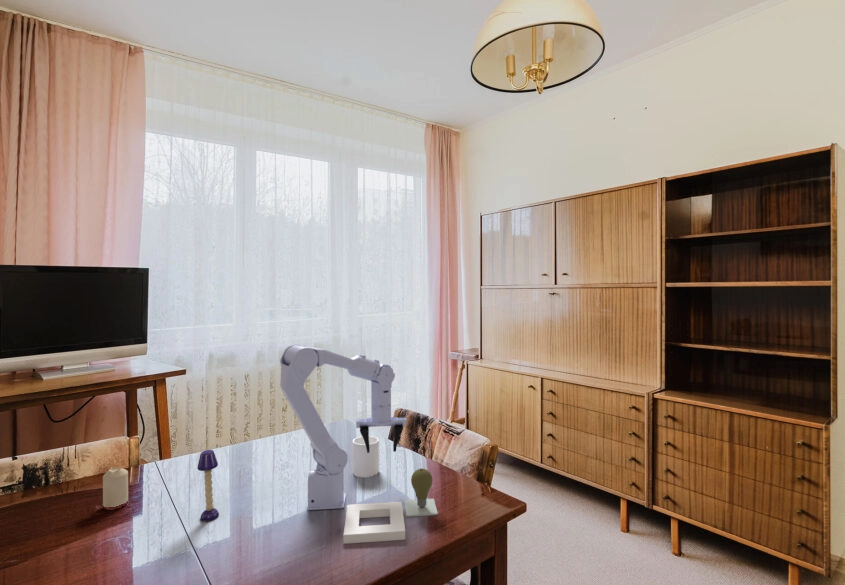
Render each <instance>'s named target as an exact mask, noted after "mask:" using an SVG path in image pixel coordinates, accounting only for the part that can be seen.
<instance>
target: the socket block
mask: <svg viewBox="0 0 845 585" xmlns="http://www.w3.org/2000/svg"><path fill="white" fill-rule="evenodd" d="M382 517H383V518H385V517H389V524H388V523H387V524H377V525H375V524H373V525H360V521H361V519H370V518H371V519H372V518H382ZM404 517H405V516H404V510H403V503H402V501H391V502H390V501H388V502H373V503H355V504H353V503H352V504H347V505H346V513H345V521H344V528H343V545H345V544H360V543H375V542H389V541H404V540H406V526H405V525H406V524H405V518H404Z"/></svg>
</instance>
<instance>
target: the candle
mask: <svg viewBox="0 0 845 585" xmlns="http://www.w3.org/2000/svg"><path fill="white" fill-rule="evenodd" d="M127 501H128V502H129V471H128V470H127V469H125V468H122V467H117V466H114V467H112V468H110V469H108V471H106V472H105V473H104V474H103V476H102V507H103V506H104V507H107V508H108V507H116V506H119V505H121V504H124V503H126V502H127Z"/></svg>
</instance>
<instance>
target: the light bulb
mask: <svg viewBox="0 0 845 585" xmlns="http://www.w3.org/2000/svg"><path fill="white" fill-rule="evenodd" d="M410 482H411V486H412V488H413V490H414V493H415V496H416V500H417V505H418V506H419V507H420V508H424V507H425V506H426V500H427V499H428V497H429V492H430V490H431V487H432V485H433V476H432V474H431V472H430V471H429V470H428V469H426V468H418V469H416V470H414V472H412V475H411V478H410Z"/></svg>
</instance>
